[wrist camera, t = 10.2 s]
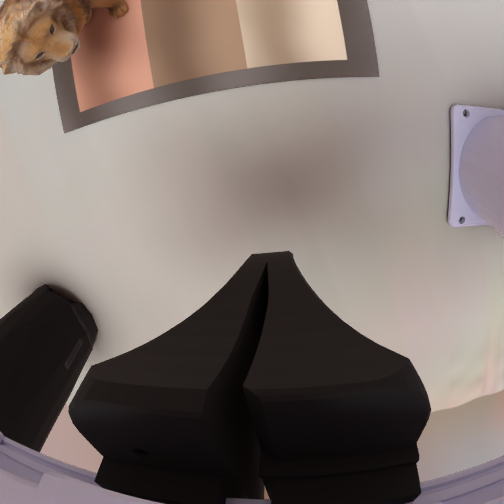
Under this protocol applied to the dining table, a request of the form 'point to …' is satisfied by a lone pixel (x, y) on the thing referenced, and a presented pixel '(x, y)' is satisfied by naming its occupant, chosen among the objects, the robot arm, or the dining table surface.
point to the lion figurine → (45, 31)
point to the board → (207, 51)
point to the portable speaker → (40, 363)
